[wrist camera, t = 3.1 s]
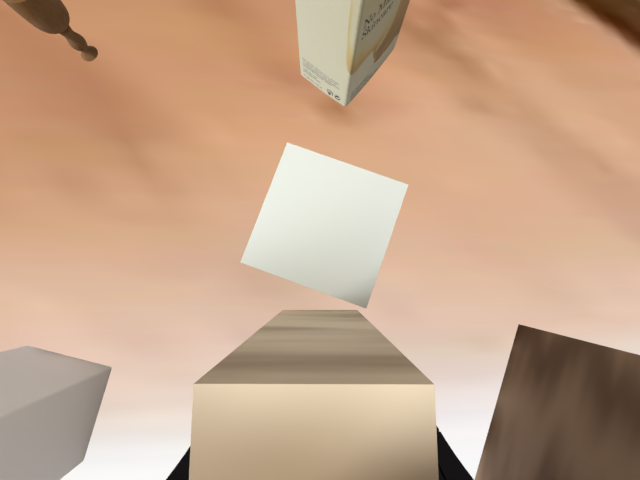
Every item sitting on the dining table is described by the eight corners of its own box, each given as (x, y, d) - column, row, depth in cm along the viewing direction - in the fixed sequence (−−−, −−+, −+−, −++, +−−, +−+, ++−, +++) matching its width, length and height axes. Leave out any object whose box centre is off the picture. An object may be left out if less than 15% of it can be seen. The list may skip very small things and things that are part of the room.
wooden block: (359, 388, 20) (449, 666, 6) (281, 388, 20) (179, 664, 6) (358, 309, 20) (436, 384, 6) (282, 309, 20) (193, 383, 6)
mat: (365, 308, 20) (366, 308, 20) (240, 262, 20) (240, 262, 20) (407, 185, 21) (408, 184, 21) (287, 143, 21) (287, 142, 21)
